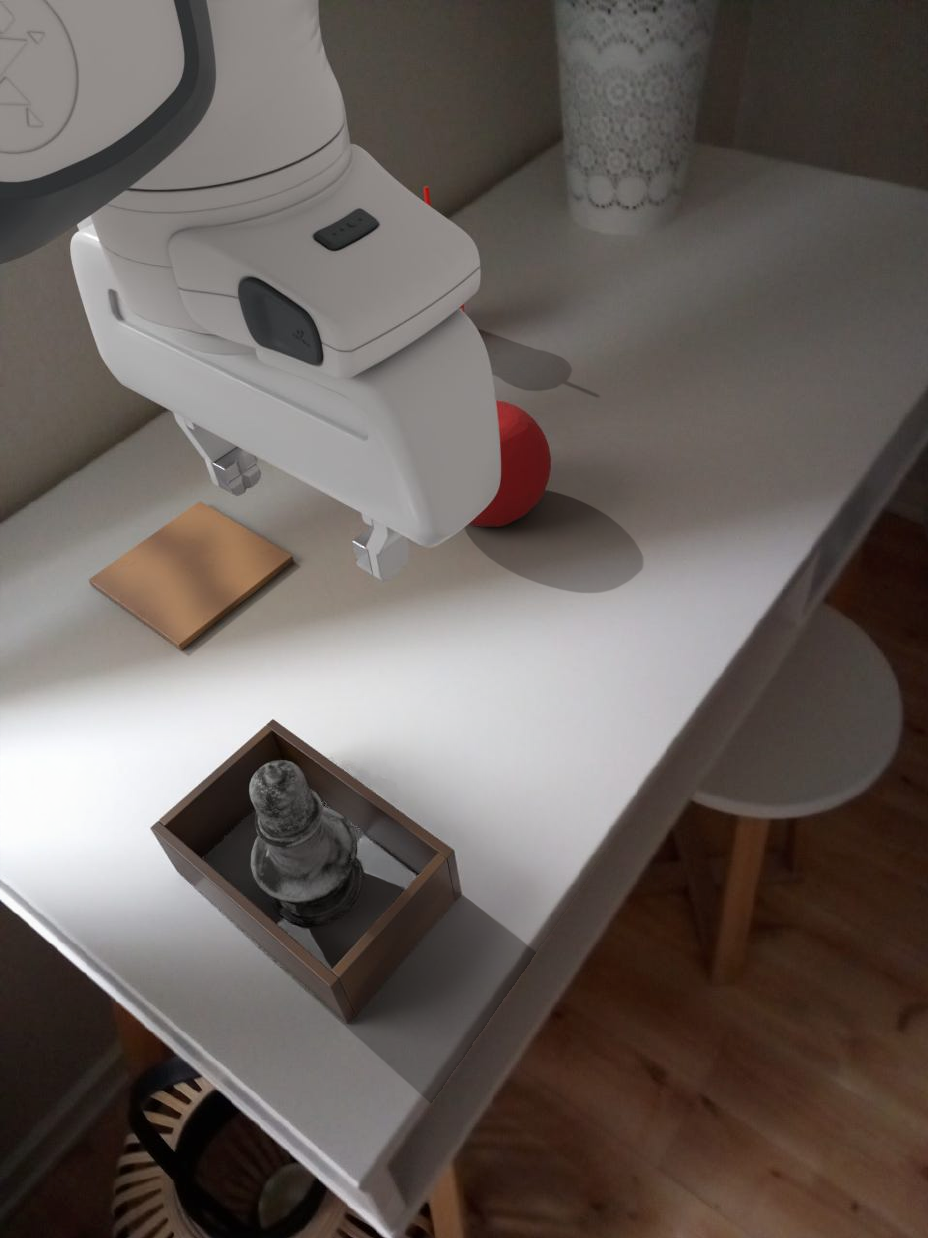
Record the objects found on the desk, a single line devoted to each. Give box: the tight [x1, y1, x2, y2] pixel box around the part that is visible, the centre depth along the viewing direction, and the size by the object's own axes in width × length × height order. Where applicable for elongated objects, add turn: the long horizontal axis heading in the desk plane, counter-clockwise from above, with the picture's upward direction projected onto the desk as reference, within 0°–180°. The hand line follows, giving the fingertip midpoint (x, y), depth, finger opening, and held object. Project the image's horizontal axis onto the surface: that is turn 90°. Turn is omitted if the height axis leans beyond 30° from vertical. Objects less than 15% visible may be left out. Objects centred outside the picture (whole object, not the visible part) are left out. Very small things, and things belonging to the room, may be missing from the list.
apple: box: [468, 400, 552, 528], centre depth 72 cm, size 9×9×10 cm
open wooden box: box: [150, 718, 463, 1025], centre depth 54 cm, size 9×14×5 cm, turn 50°
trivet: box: [88, 500, 294, 651], centre depth 74 cm, size 11×11×1 cm
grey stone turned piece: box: [249, 760, 363, 927], centre depth 51 cm, size 6×6×12 cm
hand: (307, 523), depth 43 cm, fingers open, 8 cm apart
